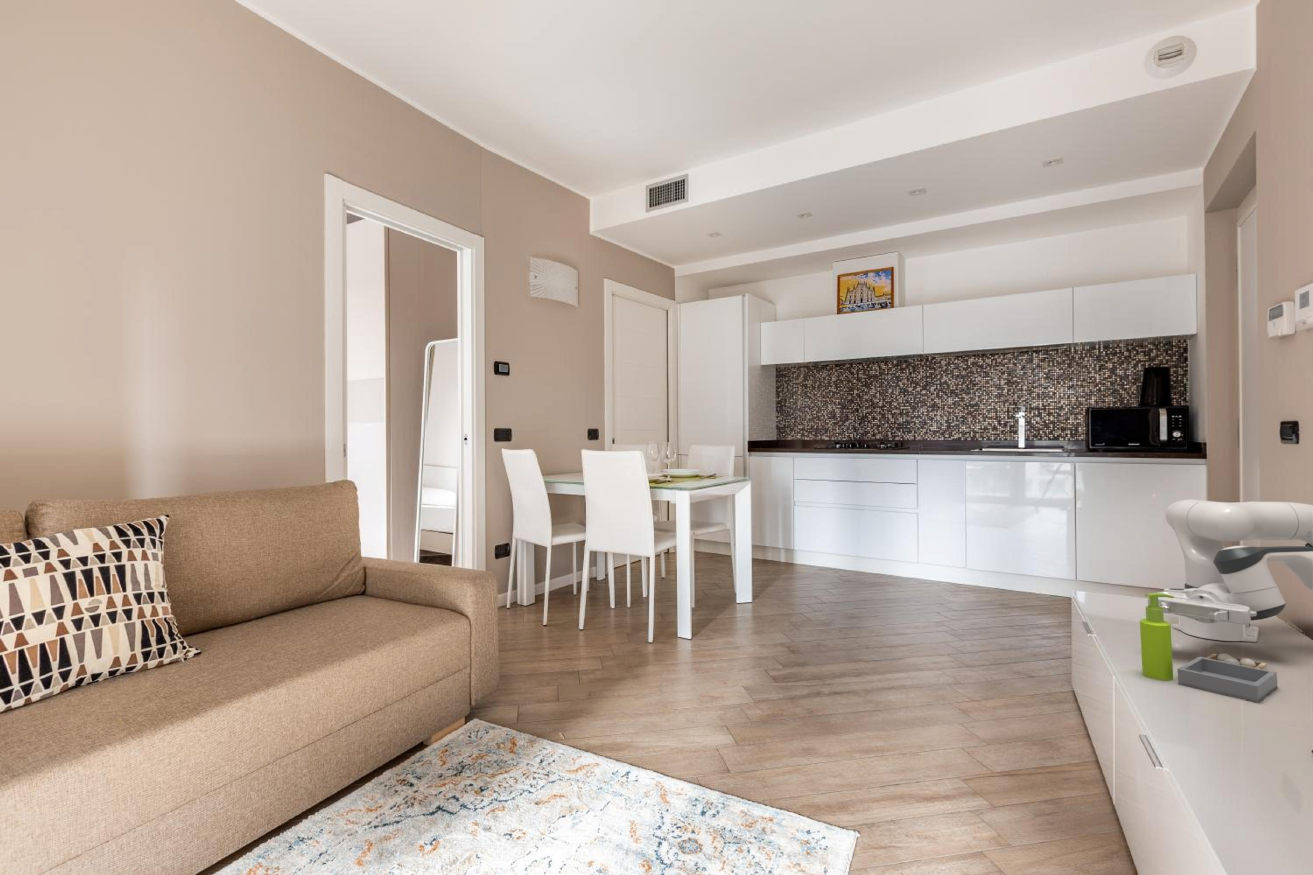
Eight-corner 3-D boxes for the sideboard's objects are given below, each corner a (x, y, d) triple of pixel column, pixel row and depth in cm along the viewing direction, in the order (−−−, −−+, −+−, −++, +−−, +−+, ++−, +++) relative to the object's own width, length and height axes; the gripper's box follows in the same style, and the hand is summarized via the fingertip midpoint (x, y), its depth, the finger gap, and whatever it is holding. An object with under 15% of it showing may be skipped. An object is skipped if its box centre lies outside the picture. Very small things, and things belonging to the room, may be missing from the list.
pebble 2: (1226, 667, 156) (1225, 655, 156) (1242, 670, 154) (1241, 658, 154) (1222, 669, 155) (1221, 657, 155) (1238, 673, 152) (1237, 660, 152)
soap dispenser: (1183, 680, 150) (1179, 596, 150) (1150, 679, 151) (1146, 596, 152) (1169, 672, 156) (1165, 591, 156) (1137, 671, 157) (1133, 590, 158)
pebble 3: (1241, 667, 156) (1241, 655, 156) (1258, 671, 153) (1257, 658, 153) (1237, 670, 154) (1237, 658, 154) (1254, 673, 151) (1253, 661, 151)
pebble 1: (1219, 662, 159) (1219, 650, 160) (1235, 665, 157) (1234, 653, 157) (1215, 665, 158) (1215, 653, 158) (1231, 668, 155) (1230, 656, 155)
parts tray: (1214, 662, 161) (1213, 653, 161) (1267, 673, 153) (1266, 663, 153) (1202, 669, 157) (1202, 659, 157) (1256, 680, 149) (1256, 670, 149)
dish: (1199, 671, 156) (1199, 656, 156) (1277, 687, 144) (1276, 671, 144) (1178, 684, 148) (1177, 668, 148) (1258, 702, 136) (1257, 686, 137)
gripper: (1259, 625, 157) (1244, 635, 149) (1159, 610, 174) (1140, 618, 166) (1258, 599, 157) (1243, 608, 149) (1158, 587, 174) (1139, 593, 166)
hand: (1188, 613), depth 158 cm, fingers open, 8 cm apart
